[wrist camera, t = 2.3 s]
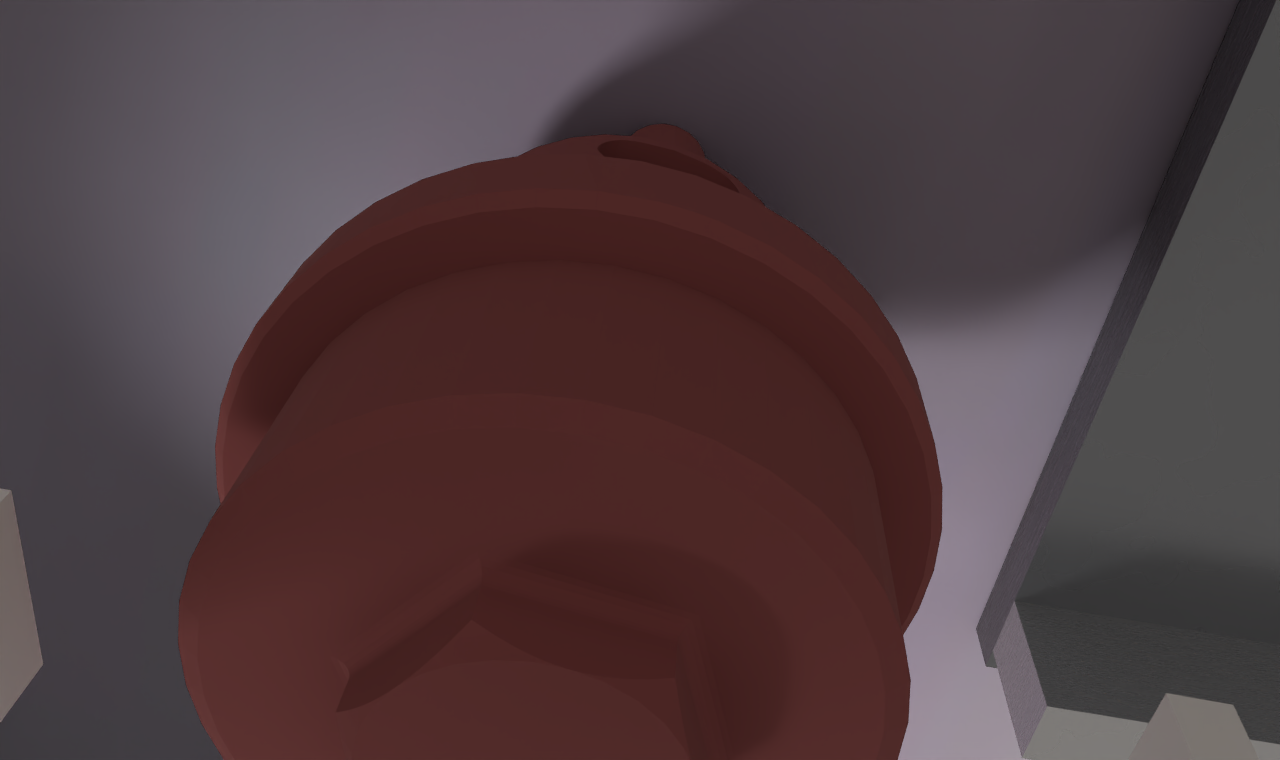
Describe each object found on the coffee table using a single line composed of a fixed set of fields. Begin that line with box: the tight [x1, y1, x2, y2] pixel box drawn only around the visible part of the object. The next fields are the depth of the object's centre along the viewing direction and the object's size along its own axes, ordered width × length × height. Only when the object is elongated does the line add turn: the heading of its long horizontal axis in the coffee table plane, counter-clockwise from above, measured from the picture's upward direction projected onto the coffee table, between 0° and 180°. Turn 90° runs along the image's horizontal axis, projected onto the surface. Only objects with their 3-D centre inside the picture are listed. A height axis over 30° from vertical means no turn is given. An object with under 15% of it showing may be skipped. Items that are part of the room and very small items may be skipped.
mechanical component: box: [178, 124, 942, 760], centre depth 17 cm, size 12×10×10 cm
